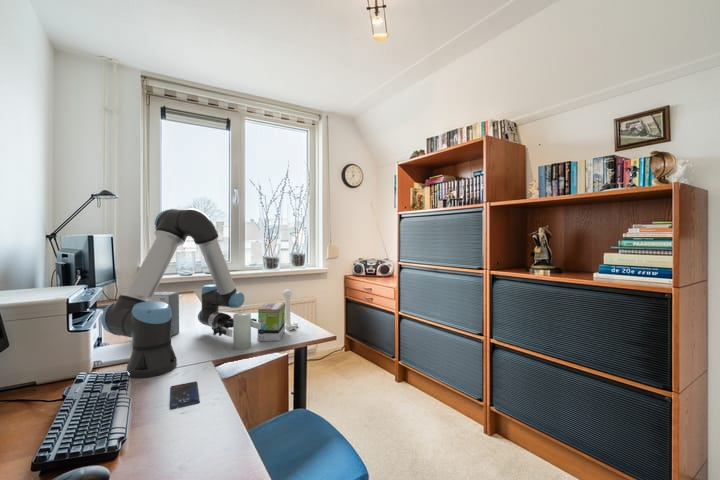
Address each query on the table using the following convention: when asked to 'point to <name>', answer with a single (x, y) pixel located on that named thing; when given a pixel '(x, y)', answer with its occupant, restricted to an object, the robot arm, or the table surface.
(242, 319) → the canister
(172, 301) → the hard drive box
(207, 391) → the table surface
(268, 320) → the tea box
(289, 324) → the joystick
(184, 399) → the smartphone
